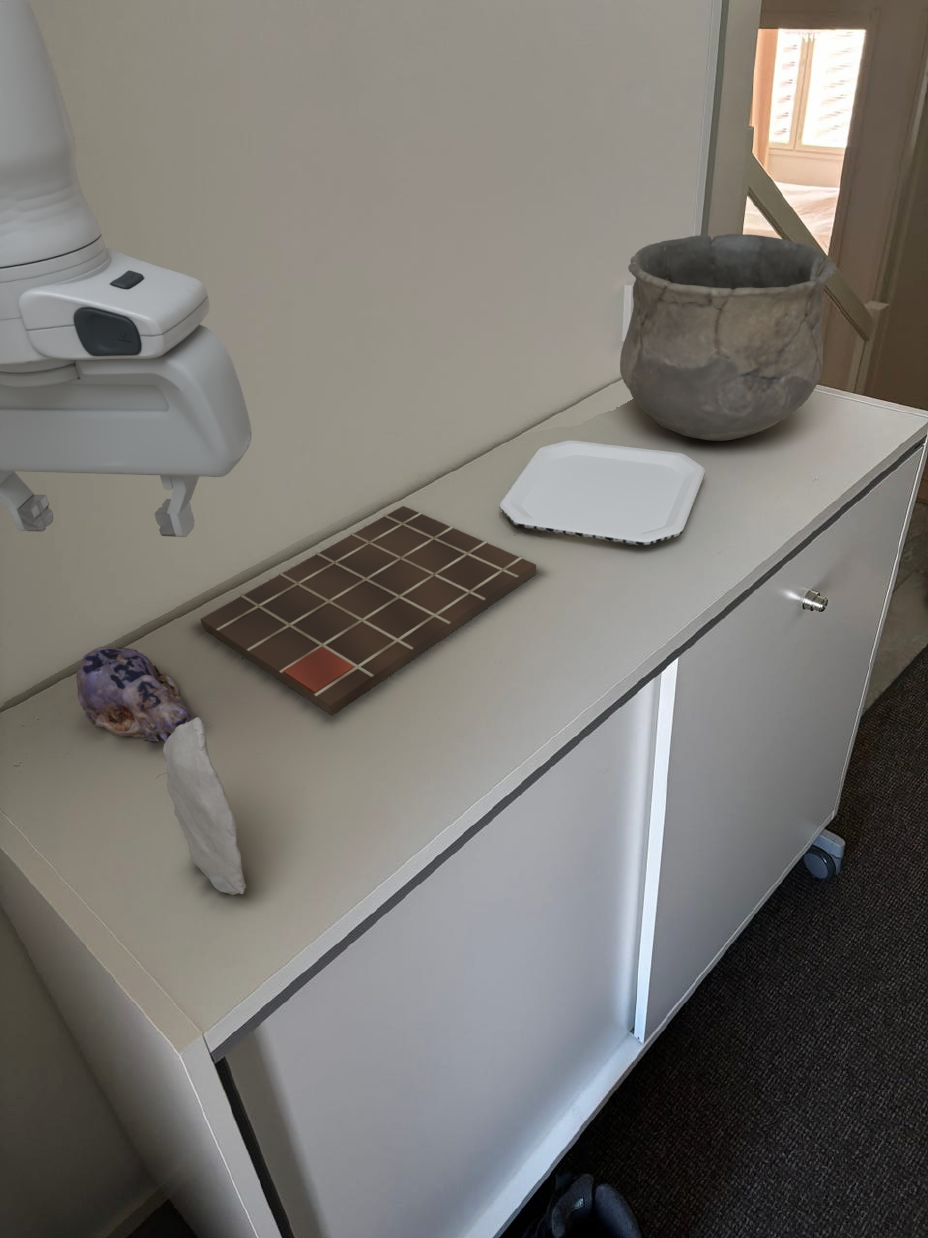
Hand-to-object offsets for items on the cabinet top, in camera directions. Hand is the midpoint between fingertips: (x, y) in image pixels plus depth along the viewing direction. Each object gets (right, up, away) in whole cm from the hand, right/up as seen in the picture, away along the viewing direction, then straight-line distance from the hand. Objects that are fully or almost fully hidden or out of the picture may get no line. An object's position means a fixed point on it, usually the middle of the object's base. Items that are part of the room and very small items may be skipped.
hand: (107, 529), depth 57 cm
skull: (-7, -14, +25) cm, 30 cm away
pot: (+54, +20, +65) cm, 87 cm away
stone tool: (+5, -24, +11) cm, 27 cm away
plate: (+38, +8, +51) cm, 64 cm away
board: (+13, -4, +37) cm, 40 cm away
